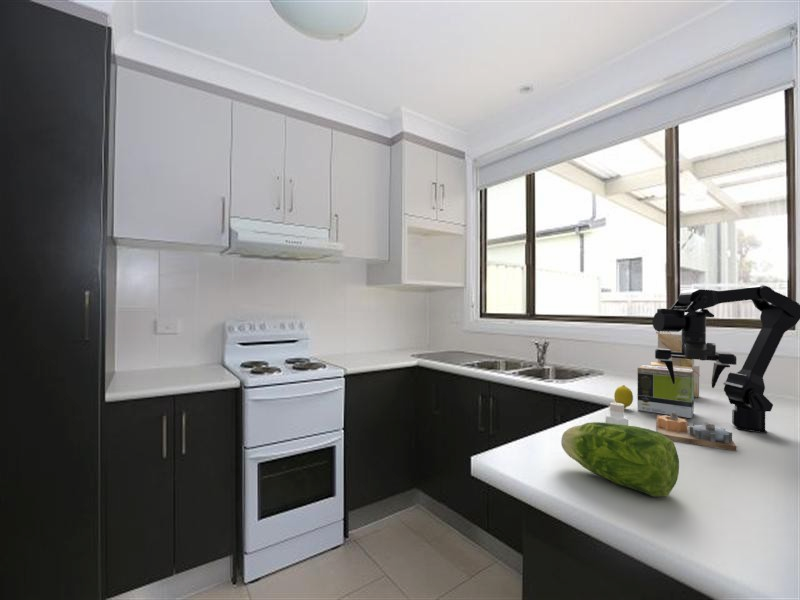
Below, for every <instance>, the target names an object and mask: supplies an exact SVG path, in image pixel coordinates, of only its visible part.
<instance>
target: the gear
mask: <svg viewBox="0 0 800 600" xmlns="http://www.w3.org/2000/svg"><path fill="white" fill-rule="evenodd" d="M656 422H657V426H658V427H662V428H665V429H667V430H676V431H683V430H684V431H687V426H688V421H687V419H686V418H682V417H678V420H670V415H667V414H663V415H656Z"/></svg>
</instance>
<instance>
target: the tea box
mask: <svg viewBox="0 0 800 600" xmlns="http://www.w3.org/2000/svg"><path fill="white" fill-rule="evenodd" d="M673 370H674V377H675V384H673V382H672V379H671V376H670V373H669V370H668V368H667V367H659V366H651V365H647V364H645V365H644V364H642V365H640V366H638V367H637V397H636V398H637V410H638V411H642V412H648V413H656V414H662V415H667V416H670V415H672V412H675V413H676V416H678V417H679V418H685V419H686V418H688V419H693V415H694V412H695V396H694V371H693V370H692V369H681V368H673Z"/></svg>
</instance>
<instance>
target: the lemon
mask: <svg viewBox="0 0 800 600" xmlns="http://www.w3.org/2000/svg"><path fill="white" fill-rule="evenodd" d="M633 401H634V395H633V391H632V390H631V389H630V388H629V387H628V386H626V385H624V384H623V385H621V386H618V387H616V389H615V391H614V402H615V403H621V404H624V409H626V408H628V407H629V406H631V405H632V403H633Z"/></svg>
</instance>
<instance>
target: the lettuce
mask: <svg viewBox="0 0 800 600" xmlns="http://www.w3.org/2000/svg"><path fill="white" fill-rule="evenodd" d="M560 442H561V447H562V450H563V451H564V453H566V455H567V456H568V457H569V458H571V459H572V460H574V461H575V462H577V463H578V464H580V465H581V466H582V467H583V468H584V469H586V470H588V471H589V472H591V473H593V474H595V475H597V476H600V477H601V478H604V479H606V480H608V481H611V482H613V483H614V484H617V485H619V486H622V487H625V488H626V489H627V488H628V489H630V490H634V491H637V492H641V493H644V494H647V495H649V496H651V497H653V498H659V497H665V496H668V495H669V494H670V493H671V492H672V490H673V489H674V487H675V485H676V484H677V482H678V478H679V473H680V472H679V471H680V460H679V459H680V458H679V454H678V450H677V448H676V445H675V441H673V440H670V439H668V438H667V437H666V436H664V435H663V434H661V433H659V432H657V430H656V431H655V430H653V429H649V428H645V427H640V426H634V425H629V424H628V425H620V424H613V423H605V422H599V421H597V422H596V421H594V422H593V421H592V422H586V423H584V424H579V425H574V426H572V427H569V428H567V429H566V430H565V431H564V432H563V433H562V436H561V441H560Z"/></svg>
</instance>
